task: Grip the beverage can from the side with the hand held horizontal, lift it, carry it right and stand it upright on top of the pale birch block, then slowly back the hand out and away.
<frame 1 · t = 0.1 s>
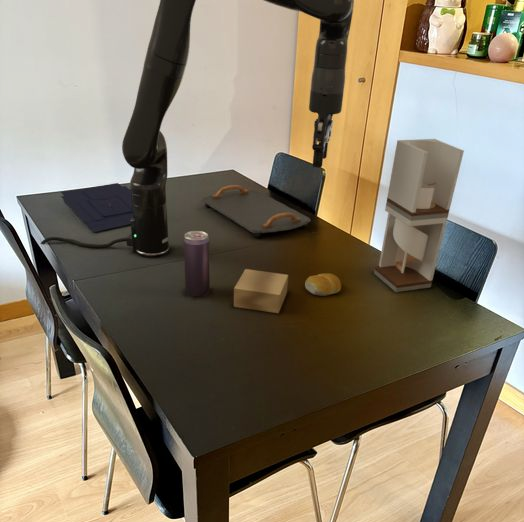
hand: (319, 162, 132), 29 cm above the table, tool pointing down, fingers open, 8 cm apart
bread roll: (322, 290, 141), on the table
birch block: (261, 299, 134), on the table
beverage can: (197, 292, 136), on the table
folded navy cloth: (109, 212, 180), on the table
serving tray: (254, 217, 182), on the table
architectural tower model: (401, 280, 147), on the table
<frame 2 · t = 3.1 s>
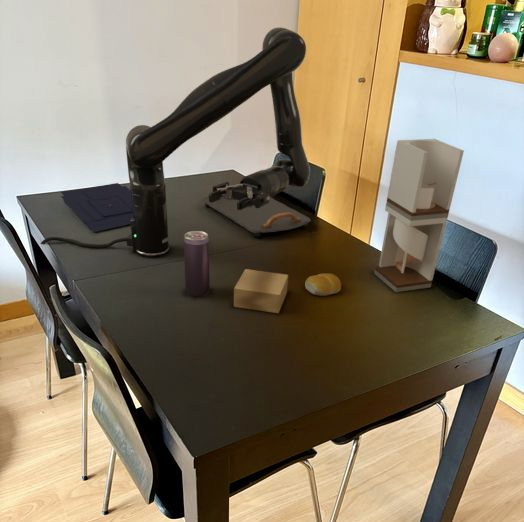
hand: (223, 202, 133), 20 cm above the table, tool horizontal, fingers open, 8 cm apart
nothing on the table moved.
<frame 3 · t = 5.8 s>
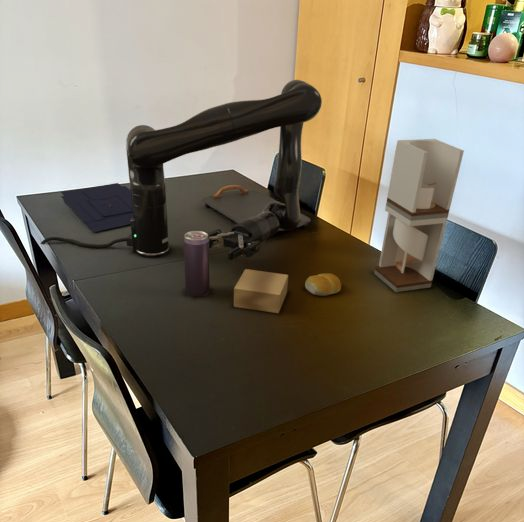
hand: (215, 251, 137), 8 cm above the table, tool horizontal, fingers open, 8 cm apart
nothing on the table moved.
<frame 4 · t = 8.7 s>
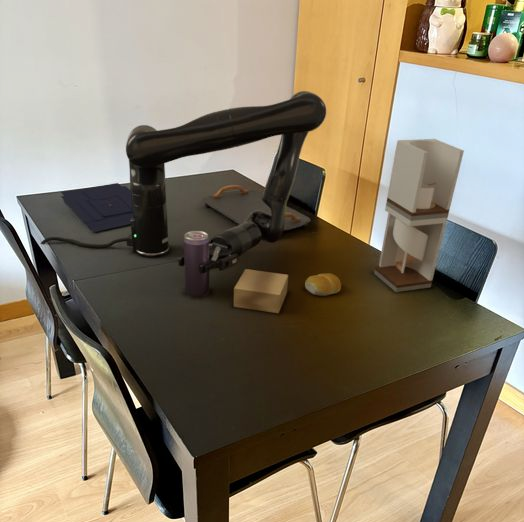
hand: (190, 266, 130), 8 cm above the table, tool horizontal, fingers closed on beverage can, 6 cm apart
beverage can: (197, 292, 136), on the table, touching gripper
everything else where it was.
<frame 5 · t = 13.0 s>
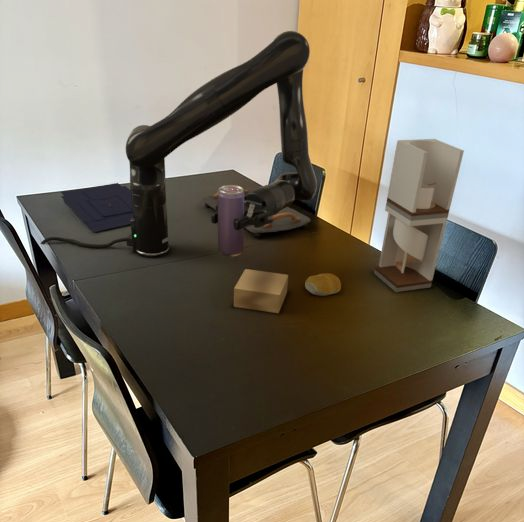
hand: (224, 222, 123), 20 cm above the table, tool horizontal, fingers closed on beverage can, 6 cm apart
beverage can: (230, 252, 129), point 11 cm above the table, touching gripper
everything else where it was.
when the fingers open (13 cm above the table, at t = 17.6 s): beverage can stays where it is, resting on birch block.
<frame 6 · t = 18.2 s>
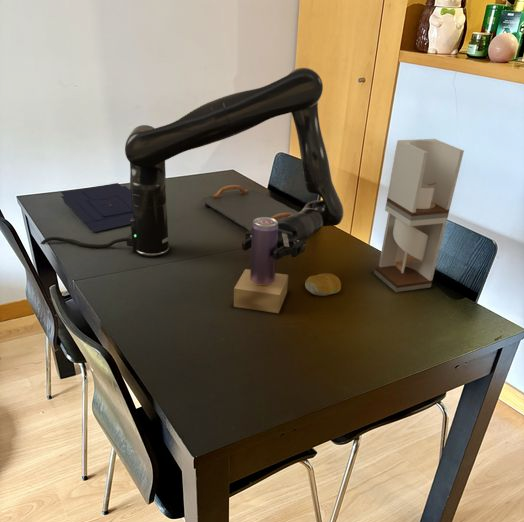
hand: (259, 251, 126), 13 cm above the table, tool horizontal, fingers open, 8 cm apart
beverage can: (262, 281, 132), point 5 cm above the table, touching birch block
everything else where it was.
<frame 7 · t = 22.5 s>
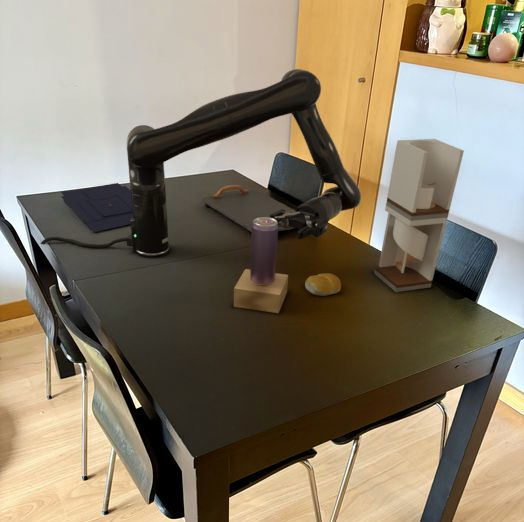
hand: (283, 231, 133), 15 cm above the table, tool horizontal, fingers open, 8 cm apart
nothing on the table moved.
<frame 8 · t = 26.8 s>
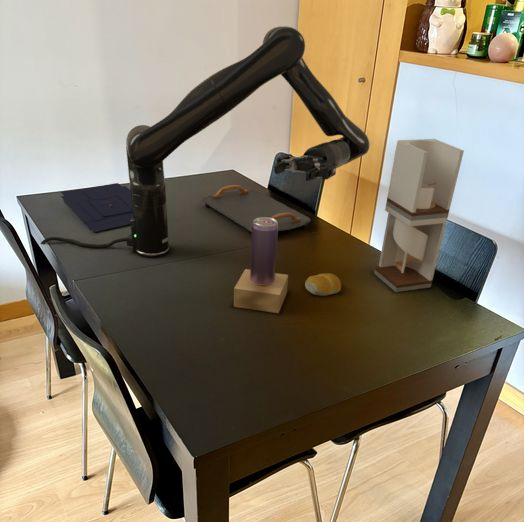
hand: (291, 172, 128), 28 cm above the table, tool horizontal, fingers open, 8 cm apart
nothing on the table moved.
at the end: beverage can inside the target area on the birch block (0.1 cm from its centre), point 4.8 cm above the birch block's base; beverage can tilted 0°; the gripper is holding nothing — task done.
